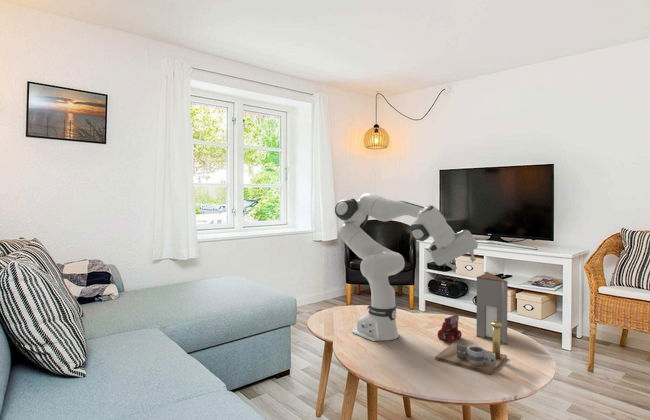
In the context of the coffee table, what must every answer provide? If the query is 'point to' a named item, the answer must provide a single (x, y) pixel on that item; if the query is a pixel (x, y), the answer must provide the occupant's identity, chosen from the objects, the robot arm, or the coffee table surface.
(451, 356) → the walnut board
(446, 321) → the toy fire truck
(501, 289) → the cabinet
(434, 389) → the coffee table surface
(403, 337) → the coffee table surface
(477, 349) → the hinge
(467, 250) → the robot arm
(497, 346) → the hinge pin
